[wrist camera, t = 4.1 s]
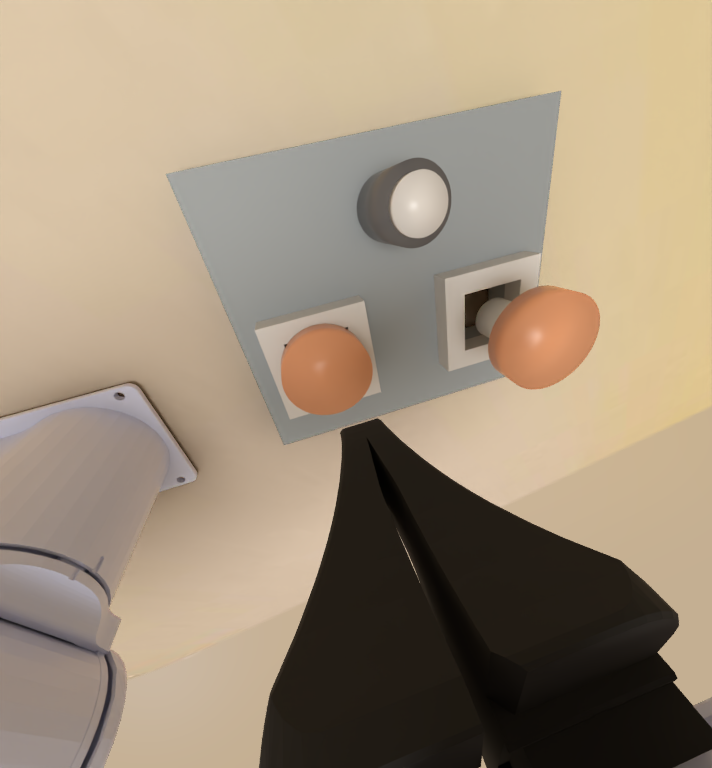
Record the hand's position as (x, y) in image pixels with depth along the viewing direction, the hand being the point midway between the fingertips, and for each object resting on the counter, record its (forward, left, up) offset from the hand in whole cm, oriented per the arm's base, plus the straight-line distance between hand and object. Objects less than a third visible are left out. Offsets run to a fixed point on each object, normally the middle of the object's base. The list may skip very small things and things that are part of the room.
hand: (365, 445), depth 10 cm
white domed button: (+5, +6, -8) cm, 12 cm away
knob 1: (0, 0, -10) cm, 10 cm away
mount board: (+5, +2, -10) cm, 11 cm away
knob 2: (+10, 0, -7) cm, 12 cm away
